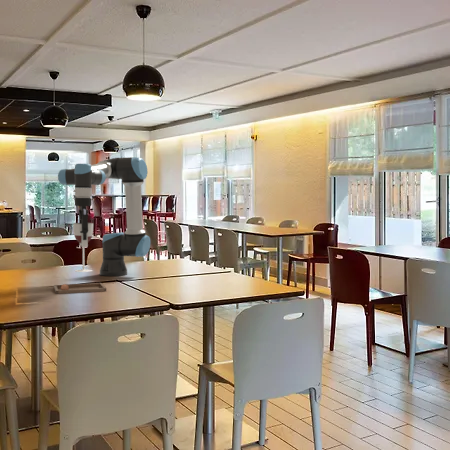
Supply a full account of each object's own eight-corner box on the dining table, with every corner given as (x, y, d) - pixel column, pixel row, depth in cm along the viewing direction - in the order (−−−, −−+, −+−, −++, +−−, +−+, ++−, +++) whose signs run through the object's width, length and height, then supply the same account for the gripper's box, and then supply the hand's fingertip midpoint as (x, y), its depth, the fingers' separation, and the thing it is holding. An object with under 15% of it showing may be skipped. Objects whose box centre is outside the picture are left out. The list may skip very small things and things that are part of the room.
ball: (68, 291, 261) (68, 283, 261) (69, 292, 258) (68, 284, 258) (60, 291, 260) (60, 283, 260) (60, 292, 257) (60, 285, 257)
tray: (101, 287, 276) (101, 282, 276) (106, 293, 261) (106, 288, 261) (54, 289, 269) (54, 285, 269) (56, 295, 254) (55, 290, 254)
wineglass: (97, 270, 269) (97, 223, 268) (86, 272, 260) (85, 224, 259) (81, 269, 272) (80, 222, 271) (69, 271, 263) (69, 223, 262)
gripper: (72, 197, 273) (73, 244, 274) (76, 197, 253) (77, 248, 254) (88, 197, 276) (89, 244, 277) (94, 197, 256) (94, 248, 257)
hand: (83, 246), depth 266 cm, fingers closed on wineglass, 9 cm apart
